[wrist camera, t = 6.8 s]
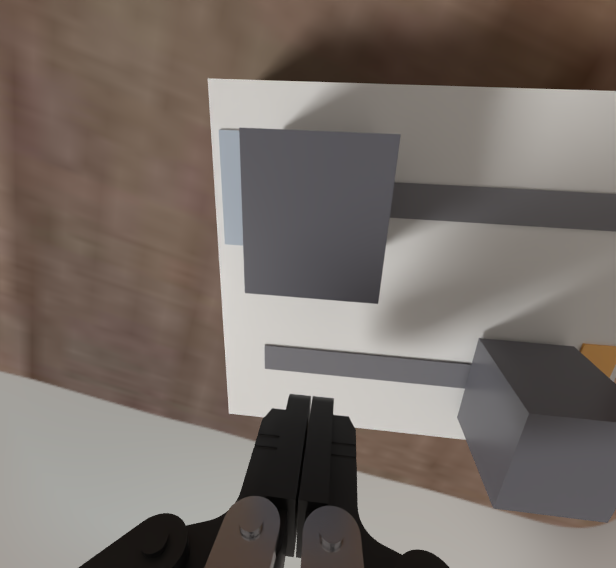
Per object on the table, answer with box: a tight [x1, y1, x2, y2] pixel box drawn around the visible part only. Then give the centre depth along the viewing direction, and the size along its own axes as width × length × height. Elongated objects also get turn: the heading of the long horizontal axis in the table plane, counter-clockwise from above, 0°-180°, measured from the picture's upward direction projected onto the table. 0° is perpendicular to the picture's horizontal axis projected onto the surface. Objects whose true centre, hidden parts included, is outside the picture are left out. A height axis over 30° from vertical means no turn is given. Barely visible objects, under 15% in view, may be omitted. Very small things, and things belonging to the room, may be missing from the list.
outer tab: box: [457, 338, 616, 523], centre depth 12 cm, size 4×4×4 cm
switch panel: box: [208, 79, 616, 440], centre depth 15 cm, size 16×14×4 cm
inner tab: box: [239, 128, 401, 304], centre depth 10 cm, size 4×4×4 cm
